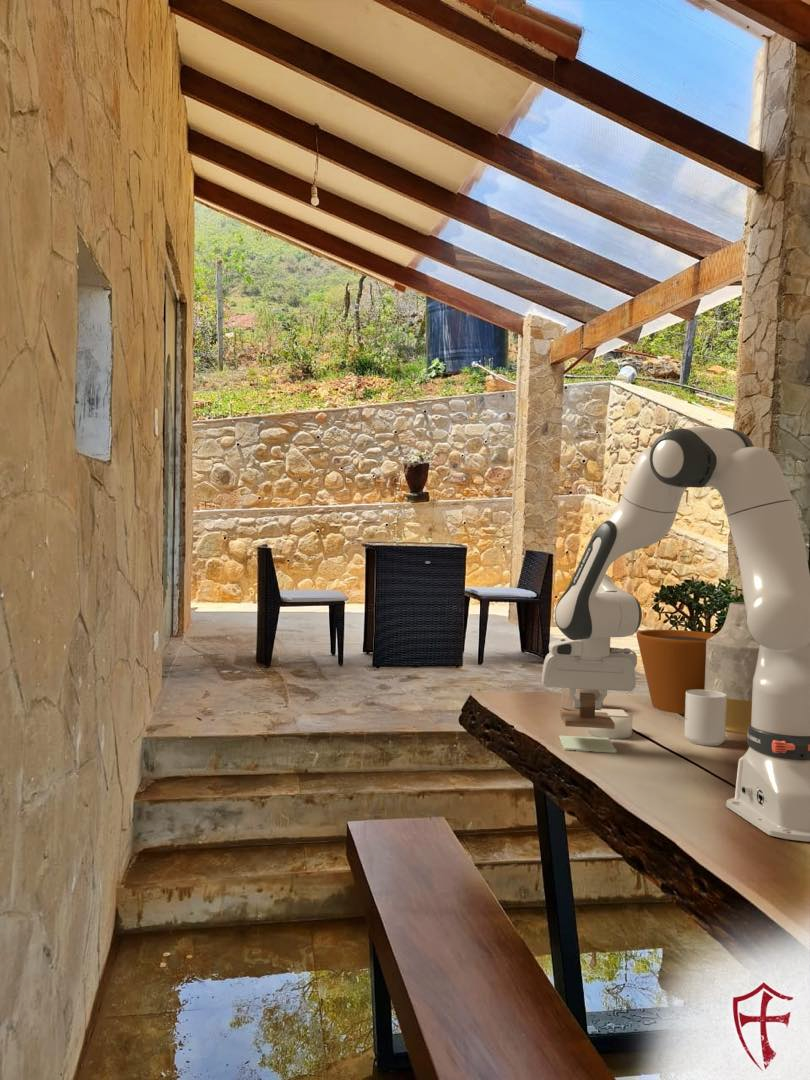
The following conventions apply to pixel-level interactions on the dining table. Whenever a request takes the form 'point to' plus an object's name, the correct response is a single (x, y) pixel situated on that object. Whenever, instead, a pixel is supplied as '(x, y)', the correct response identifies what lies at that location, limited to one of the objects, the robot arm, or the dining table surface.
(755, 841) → the dining table surface
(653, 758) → the dining table surface
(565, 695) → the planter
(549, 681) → the robot arm
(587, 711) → the lid
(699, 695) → the mug
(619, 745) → the dining table surface
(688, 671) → the flower pot
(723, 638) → the vase
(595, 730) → the disc with square top
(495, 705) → the dining table surface
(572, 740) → the mat
